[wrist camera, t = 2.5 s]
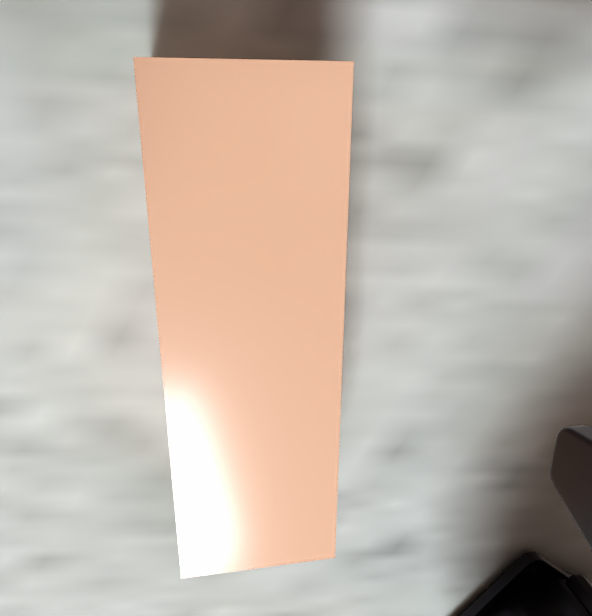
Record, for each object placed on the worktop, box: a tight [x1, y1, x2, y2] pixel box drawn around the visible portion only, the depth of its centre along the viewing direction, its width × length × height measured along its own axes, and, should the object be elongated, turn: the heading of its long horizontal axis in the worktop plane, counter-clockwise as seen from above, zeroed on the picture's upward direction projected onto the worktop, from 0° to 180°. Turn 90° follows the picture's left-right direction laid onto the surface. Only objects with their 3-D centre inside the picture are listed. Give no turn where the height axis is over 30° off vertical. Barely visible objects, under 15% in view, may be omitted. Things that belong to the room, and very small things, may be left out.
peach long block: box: [133, 57, 354, 579], centre depth 14 cm, size 12×4×4 cm, turn 0°
